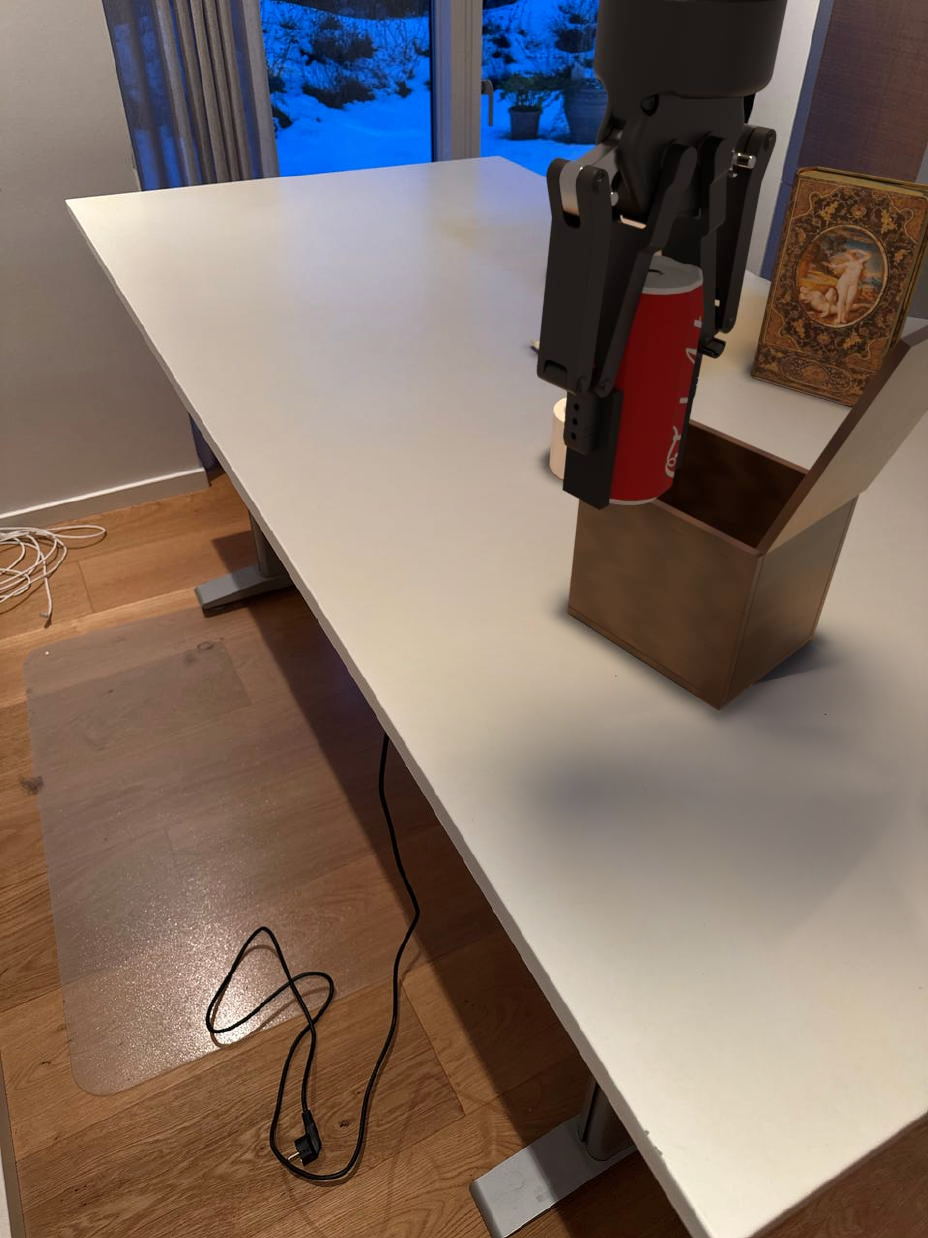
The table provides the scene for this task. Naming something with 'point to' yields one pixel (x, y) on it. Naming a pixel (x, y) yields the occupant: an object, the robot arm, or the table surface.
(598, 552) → the bin
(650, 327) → the soda can
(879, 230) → the book
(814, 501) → the lid
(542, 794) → the table surface
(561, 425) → the bracket
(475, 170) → the table surface
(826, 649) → the table surface
